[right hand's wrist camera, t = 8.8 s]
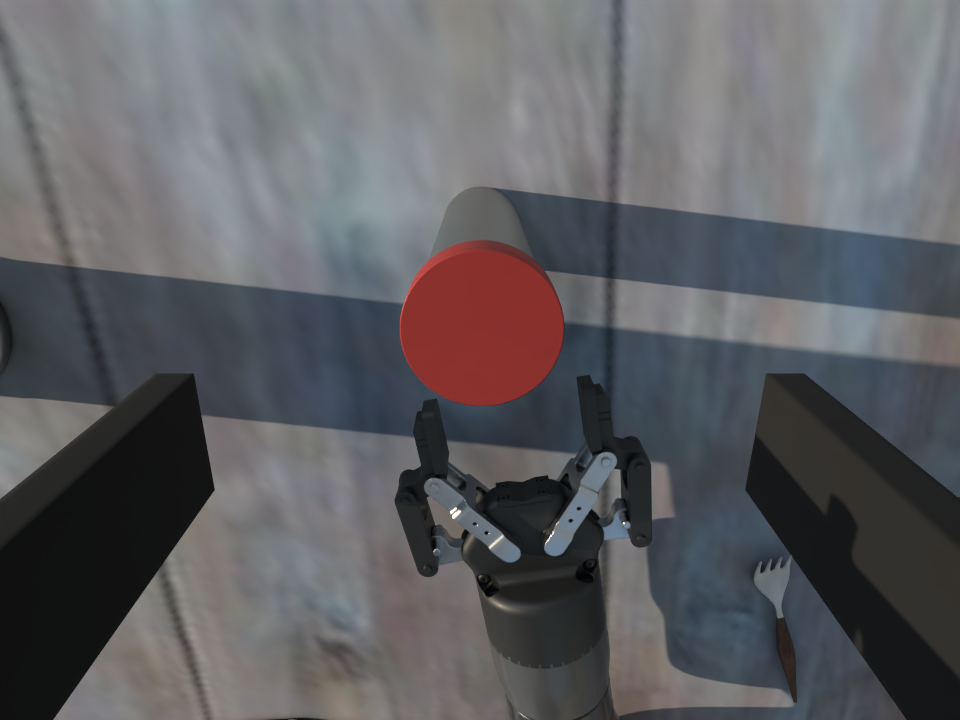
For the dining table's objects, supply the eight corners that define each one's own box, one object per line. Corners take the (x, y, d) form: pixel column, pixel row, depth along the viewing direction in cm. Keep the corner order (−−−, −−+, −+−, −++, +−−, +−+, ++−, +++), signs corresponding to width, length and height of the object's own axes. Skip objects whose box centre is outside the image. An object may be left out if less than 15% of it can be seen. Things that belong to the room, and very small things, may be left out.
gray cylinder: (428, 235, 37) (383, 344, 20) (471, 171, 36) (462, 226, 18) (490, 277, 38) (499, 416, 21) (534, 215, 37) (582, 309, 19)
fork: (775, 700, 50) (787, 722, 49) (746, 544, 45) (757, 563, 43) (808, 693, 50) (821, 715, 48) (782, 535, 45) (796, 553, 43)
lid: (376, 334, 21) (368, 352, 19) (460, 207, 19) (459, 215, 18) (500, 411, 22) (501, 434, 20) (589, 296, 20) (598, 311, 19)
